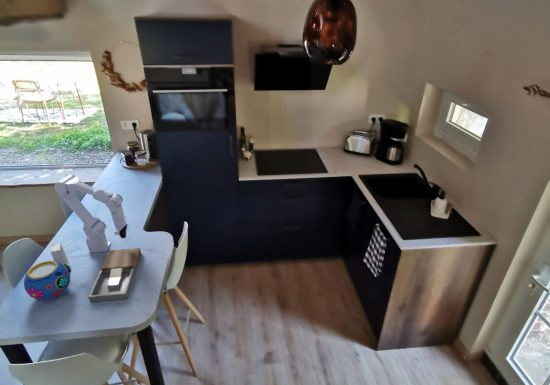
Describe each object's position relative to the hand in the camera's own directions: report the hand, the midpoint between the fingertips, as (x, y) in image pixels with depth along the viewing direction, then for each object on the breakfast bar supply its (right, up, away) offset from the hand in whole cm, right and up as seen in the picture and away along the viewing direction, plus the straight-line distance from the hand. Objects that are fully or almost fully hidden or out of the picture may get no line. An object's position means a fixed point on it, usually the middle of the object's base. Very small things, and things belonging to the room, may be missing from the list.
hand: (123, 237), depth 178 cm
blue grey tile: (+4, -19, -18) cm, 26 cm away
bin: (+4, -21, -18) cm, 28 cm away
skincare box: (-29, -14, -6) cm, 33 cm away
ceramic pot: (-23, -23, -22) cm, 40 cm away
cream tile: (+3, -17, -13) cm, 21 cm away
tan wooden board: (+1, -13, -4) cm, 14 cm away
